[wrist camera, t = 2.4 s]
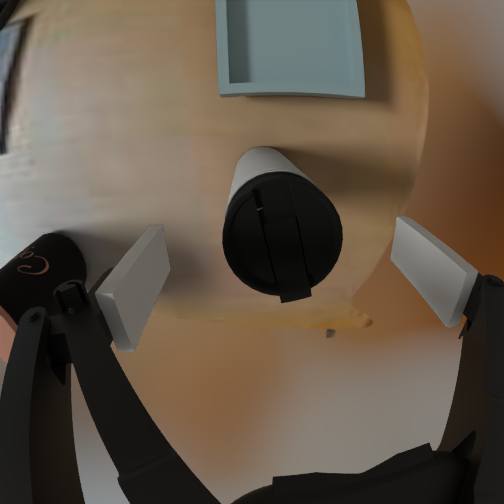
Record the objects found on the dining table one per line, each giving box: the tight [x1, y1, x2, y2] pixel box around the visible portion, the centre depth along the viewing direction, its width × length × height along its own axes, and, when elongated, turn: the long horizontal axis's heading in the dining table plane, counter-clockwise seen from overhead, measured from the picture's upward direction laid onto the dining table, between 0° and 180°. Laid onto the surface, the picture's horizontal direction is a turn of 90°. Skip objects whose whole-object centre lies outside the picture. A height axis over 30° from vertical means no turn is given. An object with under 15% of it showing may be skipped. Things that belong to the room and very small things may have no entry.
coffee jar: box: [0, 233, 86, 363], centre depth 28 cm, size 11×11×18 cm
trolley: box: [216, 0, 365, 99], centre depth 18 cm, size 18×14×12 cm
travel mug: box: [222, 146, 343, 303], centre depth 22 cm, size 6×7×20 cm
